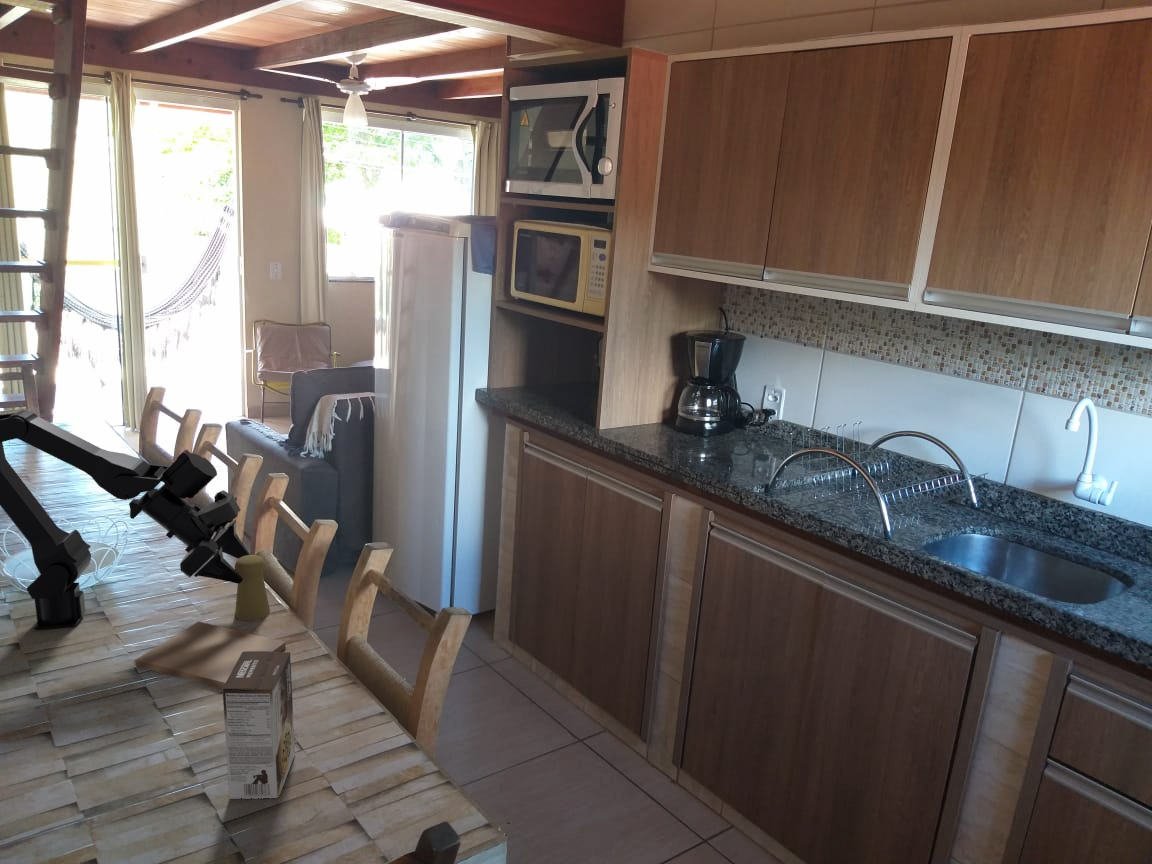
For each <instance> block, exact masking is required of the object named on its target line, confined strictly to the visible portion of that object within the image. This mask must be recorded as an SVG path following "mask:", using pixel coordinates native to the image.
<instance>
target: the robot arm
mask: <svg viewBox="0 0 1152 864" xmlns="http://www.w3.org/2000/svg"><path fill="white" fill-rule="evenodd" d="M12 440H18V441H19V440H20V441H21V442H23V443H24V444H25V443H26V444H27V445H29V446H31V447H33V448H35V449H38V450H39V451H41V452H43V453H46V454H48V455H50V456H51V457H53V458H56V459H58V460H59V461H62V462H63V463H66V464H68V465H70V466H71V467H74V468H76V469H78V470H80V471H82V472H84V473H86V474H87V475H88V476H89V477H91V478H92V480H93V481H94V482H95V483H96V485H98V486H99V487H100V488H101V489H103V490H104V491H106V492H107V493H108V494H110V495H111V496H112V497H114V498H116V499H119V500H122V501H123V500H124V501H127V500H131V499H132V500H131V501H130V502H129V503H128V506H129V510H130V511H129V518H130V519H132V520H133V519H135V518H136V517H137V516H138V515H139V514H141V512H143V513H144V514H146V515H147V516H148V517H149V518H151V519H152V520H153V521H154V522H156V523H157V524H158V525H160V526H161V527H162V528H163V529H165V530H166V531H167V532H166V534H165V536H166V537H168V538H169V539H171V538H173V537H175V538H177V540H179V541H180V542H181V543H183V544H184V545H185V546H186V548H185V549H184V550H185V552H186V553H187V554H185V555H184V557H183V558H182V560H181V561H180V563H179V566H180V568H179V569H180V572H181V573H183V574H184V575H185V576H186V577H188V578H191V577H192V576H193V577H195V578H197V577H204V578H210V579H215V580H220V581H225V582H229V583H234V584H237V585H238V584H240V583H241V582H242V581H243V578H242V577H241V576H240V574H239V573H238V572H237V571H236V570H235V567H233V566H232V565H231V564H230V563H229V562H228V561H227V560H226V559H225V558H224V556H223V553H224V554H227V555H229V556H231V557H233V558H236V559H237V560H238V559H239V558H241V557H243V556H246V555H251V553H250V552H249V550H248V549H247V547H246V545H244V543H243V542H242V540H241V538H240V537H239V536H238V534H237V520H236V518H238V516H239V512H241V507H240V506H239V504H238V502H237V501H238V497H237V496H234V495H233V493H229V492H228V491H226V490H224V489H223V490H221V491H220V490H219V492H216V493H215V495H214V502H213V501H212V502H210V504H208V505H205V506H202V505H201V504H199V503H196V502H195V503H194V504H193V505H192V504H190V503H189V502H188V501H187V500H186V498H189V499H193V498H195V497H196V496H197V495H198V494H199V493H200V492H201V491H202V490H204V488H206V487H207V485H208V484H209V483H211V481H213V479H215V477H217V476H218V472H217V470H216V467H215V466H214V464H212V462H210V460H208V459H207V458H206V457H202V456H201V455H198V453H192V452H190V451H189V450H188V449H184V450H183V451H182V452H181V453H180V454H179V455H178V456H177V457H176V459H175V460H174V462H172V463H171V464H170V465H163V464H155V463H153V464H152V463H148V462H147V461H145V460H144V459H141V458H139V457H135V456H132V455H130V454H126V453H123V452H117V451H111V450H106V449H104V448H101V447H100V446H97V445H95V444H93V443H91V442H90V441H88V440H85V439H83V438H81V437H80V436H77V435H76V434H73V433H72V432H69V431H67V430H66V429H64V428H61V427H59V426H58V425H55V424H54V423H51V422H50V421H47V420H46V419H43V418H42V417H40V416H39V415H37V413H35V412H34V411H32V410H31V411H30V410H28V409H27V410H26V409H22V410H19V411H17V412H11V413H1V414H0V508H1V509H2V510H3V511H4V512H5V514H6V515H7V516H8V518H9V519H10V520H11V521H12V523H13V524H14V526H15V527H16V528H17V529H18V530H19V532H20V533H21V534H22V536H24V538H25V539H26V541H27V542H28V543H29V545H30V548H31V552H32V556H33V562H34V565H35V567H36V569H37V570H38V572H39V575H38V576H37V577H36V578H35V580H33V581H32V582H31V583H30V584H29V585H28V586H27V587H26V591H27V592H28V594H29V596H30V598H31V599H32V600H34V606H35V607H34V608H35V615H36V622H35V624H34V626H33V630H45V629H57V628H71V627H76V626H77V625H78V624H79V622H80V621H81V619H82V618H83V616H84V615H85V612H86V605H85V603H86V602H85V593H84V591H83V590H81V589H80V582H76V581H78V580H79V578H80V577H81V575H82V574H83V573H84V572H85V571H86V569H87V568H88V567H89V566H90V563H91V561H92V553H91V552H90V550H89V549H90V548H91V545H90V544H89V543H87V542H86V541H85V540H84V538H83V536H82V535H81V533H80V532H79V530H78V529H73V530H72V531H71V532H70V533H69V532H67V531H65V530H64V529H61V528H60V527H59V526H58V525H56V523H55V521H53V519H52V518H51V516H50V515H49V513H48V512H47V511H46V510H45V508H43V506H42V505H41V504H40V502H39V501H38V499H37V498H36V497H35V496H34V494H33V493H32V492H31V490H30V489H29V488H28V487H27V485H26V484H25V483H24V481H23V480H22V478H21V477H20V476H19V475H18V474H17V472H16V471H15V469H14V468H13V467H12V465H11V464H10V463H9V462H8V460H7V458H6V455H5V454H6V453H5V450H4V442H8V441H12ZM160 483H163V484H162V485H161V486H160V487H159V488H156V487H157V486H158V485H160ZM142 493H144V494H143V495H142V496H141V497H140V498H136V497H139V495H141V494H142Z"/></svg>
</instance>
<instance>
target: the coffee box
mask: <svg viewBox="0 0 1152 864" xmlns="http://www.w3.org/2000/svg"><path fill="white" fill-rule="evenodd" d="M291 663H292V662H291V652H290V651H281V652H270V651H245V652H242V654H241V655H240V657H239V659H238V661H237V663H236V664H235V666H234V668H233V670H232V672H231V674H230V676H229V677H228V679H227V681H226V683H225V685H224V686H223V689H221V690H222V697H223V698H222V701H223V716H224V717H223V718H224V731H225V732H224V733H225V746H226V747H225V749H226V761H227V762H226V763H227V765H226V766H227V781H228V782H227V783H228V797H229V798H228V799H230V800H256V799H257V800H262V799H263V798H270V799H269V800H272V799H271V798H277V799H279V798H280V796H279V795H281V793H282V790H283V788H284V785H285V782H286V779H287V778H288V777H287V776H288V774H289V771H290V769H291V766H292V763H293V761H294V757H295V756H296V748H295V746H296V745H295V733H294V732H295V729H294V707H293V706H294V704H293V703H294V702H293V686H292V685H293V681H292V665H291ZM278 797H279V798H278ZM241 798H242V799H241ZM251 798H252V799H251ZM258 798H259V799H258ZM261 798H262V799H261ZM263 800H264V799H263Z"/></svg>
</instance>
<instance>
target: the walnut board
mask: <svg viewBox="0 0 1152 864" xmlns="http://www.w3.org/2000/svg"><path fill="white" fill-rule="evenodd" d="M286 643H287V642H286V641H284V640H279V639H274V638H270V637H266V636H261V635H257V634H253V633H249V632H245V631H241V630H237V629H231V628H226V627H225V626H224V627H223V626H219V625H214V624H209V623H206V622H203V621H197V622H195V623H194V624H192V625H190V626H189V627H186V628H185V629H184V630H182V631H181V632H179V633H177V634H176V635H174V636H172V637H170V638H169V639H167V640H166V641H165V642H163V643H160V644H159V645H157V646H156V647H154V648H153V649H150V650H149V651H148V652H146V653H144V654H142V655H141V656H139V657H138V658H136V659H135V667H137V668H141V669H145V670H149V671H152V672H157V673H159V674H163V675H168V676H171V677H176V678H179V679H184V680H186V681H191V682H194V683H198V684H202V685H206V686H210V687H214V688H217V689H221V690H222V689H223V686H224V685H225V683H226V681H227V679H228V677H229V676H230V674H231V672H232V670H233V668H234V666H235V664H236V663H237V661H238V659H239V657H240V655H241V654H242V652H245V651H270V652H284V650H285V649H287V648H286V647H287V646H286V645H287V644H286Z"/></svg>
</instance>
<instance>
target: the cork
mask: <svg viewBox="0 0 1152 864" xmlns="http://www.w3.org/2000/svg"><path fill="white" fill-rule="evenodd" d="M266 566H267V565H266V562H265V559H264V558H263V557H262V556H260V555H257V554H250V555H246V556H243V557H241V558H239V559H238V558H237V560H236V561H235V564H234V569H235V570H236V571H237V572H238V573H239V574H240V576H241V577H242V578H243V581H242V582H241V583H240V584H237V588H236V600H235V601H236V602H235V608H234V609H235V611H234V616H236V617H235V618H236V619H237V618H238V619H237V620H239V619H240V621H243V620H247V621H248V622H251V621H252V620H253V621H257V619H258V620H261V619H264V618H266V617H267V616H268V615H269V614H270V613H271V609H270V604H269V603H270V602H269V598H268V593H267V589H266V583H265V579H264V573H265V569H266ZM247 621H246V622H247Z"/></svg>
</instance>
